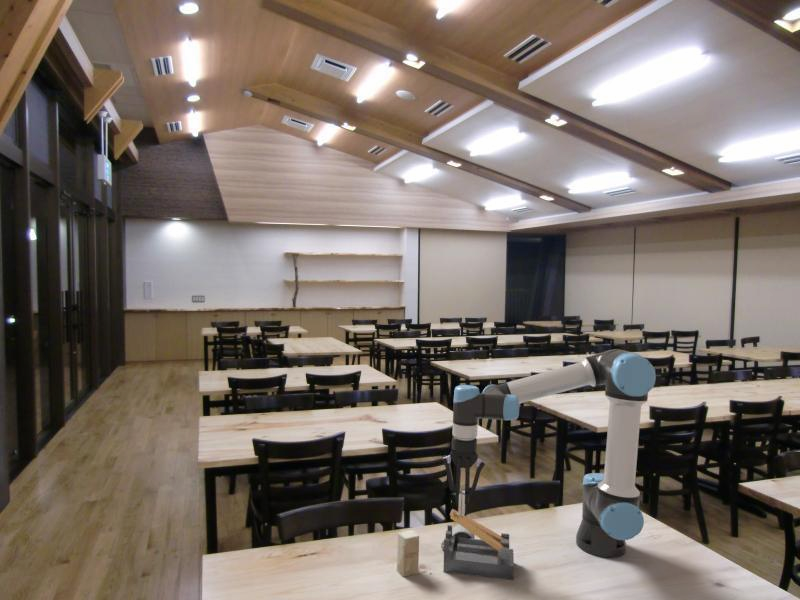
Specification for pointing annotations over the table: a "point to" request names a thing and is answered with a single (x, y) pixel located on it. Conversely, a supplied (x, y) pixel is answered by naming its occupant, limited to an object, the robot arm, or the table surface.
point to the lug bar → (449, 543)
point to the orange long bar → (482, 528)
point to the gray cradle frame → (481, 559)
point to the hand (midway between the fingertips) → (461, 513)
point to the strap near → (477, 532)
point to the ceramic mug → (460, 534)
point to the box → (408, 553)
